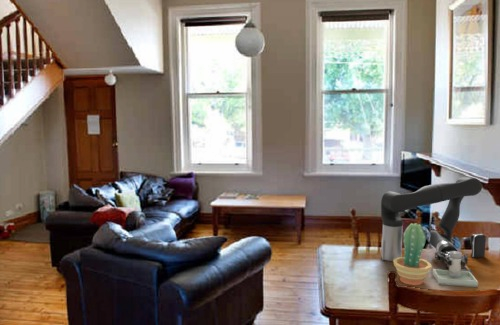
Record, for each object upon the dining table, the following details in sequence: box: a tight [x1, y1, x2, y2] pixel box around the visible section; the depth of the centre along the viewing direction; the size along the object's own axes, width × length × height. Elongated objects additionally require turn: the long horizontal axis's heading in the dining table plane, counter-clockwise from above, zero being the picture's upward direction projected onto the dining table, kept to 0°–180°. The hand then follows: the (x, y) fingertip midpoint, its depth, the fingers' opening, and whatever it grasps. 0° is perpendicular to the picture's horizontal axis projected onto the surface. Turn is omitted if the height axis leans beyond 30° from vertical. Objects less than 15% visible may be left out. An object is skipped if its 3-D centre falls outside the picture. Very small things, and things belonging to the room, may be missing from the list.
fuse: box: [448, 250, 463, 277], centre depth 174 cm, size 5×5×10 cm
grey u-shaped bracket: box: [447, 264, 473, 273], centre depth 185 cm, size 8×9×2 cm
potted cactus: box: [392, 222, 432, 286], centre depth 173 cm, size 15×15×25 cm
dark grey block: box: [469, 233, 487, 259], centre depth 204 cm, size 7×4×11 cm, turn 107°
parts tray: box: [432, 268, 479, 288], centre depth 174 cm, size 15×11×2 cm
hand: (457, 263), depth 171 cm, fingers closed on fuse, 4 cm apart
